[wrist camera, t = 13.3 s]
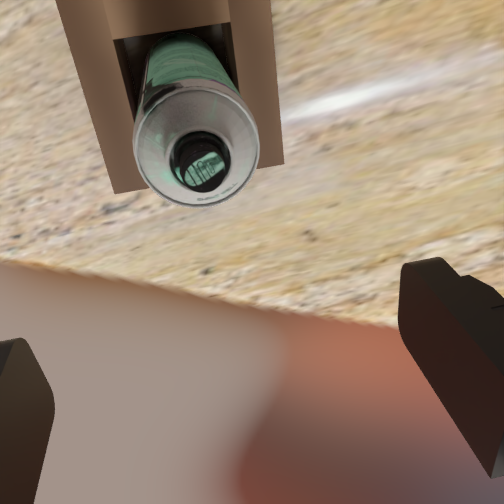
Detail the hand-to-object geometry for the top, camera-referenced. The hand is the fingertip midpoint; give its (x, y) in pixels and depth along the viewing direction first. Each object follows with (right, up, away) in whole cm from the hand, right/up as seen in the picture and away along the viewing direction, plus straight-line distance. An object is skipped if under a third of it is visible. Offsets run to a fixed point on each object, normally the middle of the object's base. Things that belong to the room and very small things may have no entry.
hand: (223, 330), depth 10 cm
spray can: (-5, +15, +25) cm, 29 cm away
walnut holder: (-5, +15, +24) cm, 29 cm away
